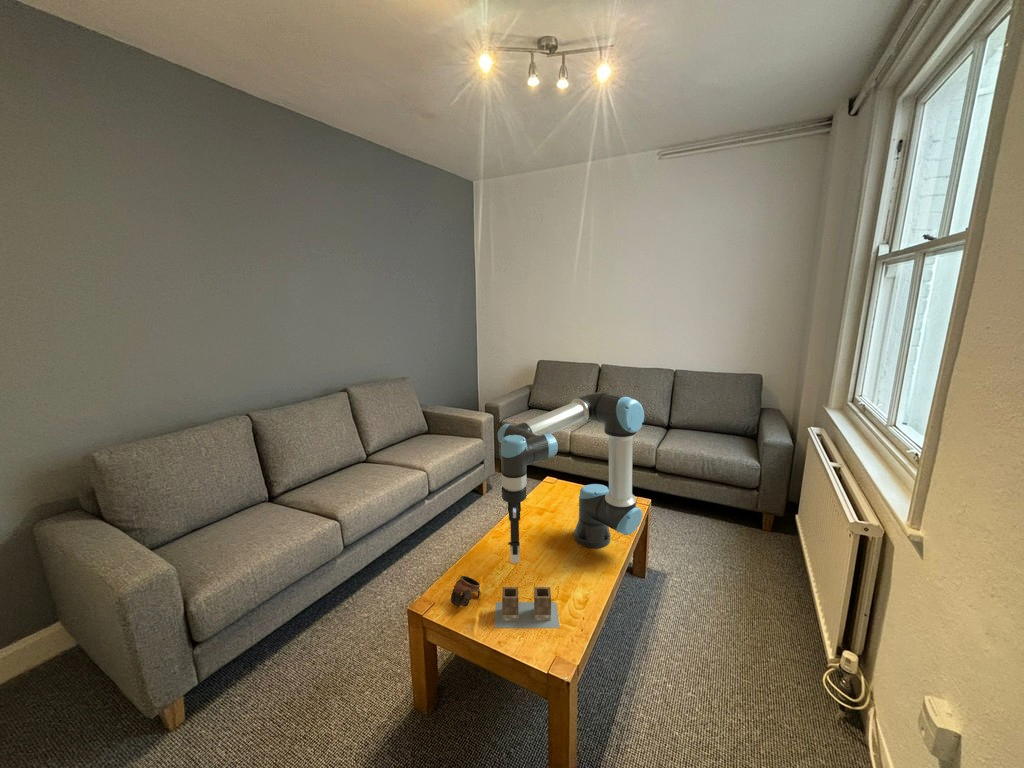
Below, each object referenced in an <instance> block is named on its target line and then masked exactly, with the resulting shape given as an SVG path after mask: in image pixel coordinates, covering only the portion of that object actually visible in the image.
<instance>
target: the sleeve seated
mask: <svg viewBox="0 0 1024 768" xmlns="http://www.w3.org/2000/svg"><path fill="white" fill-rule="evenodd" d="M533 591H534V593H533V595H534V597H533V602H534V616H535V621H551V602H552V593H551V587H550V586H534V588H533Z"/></svg>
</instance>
